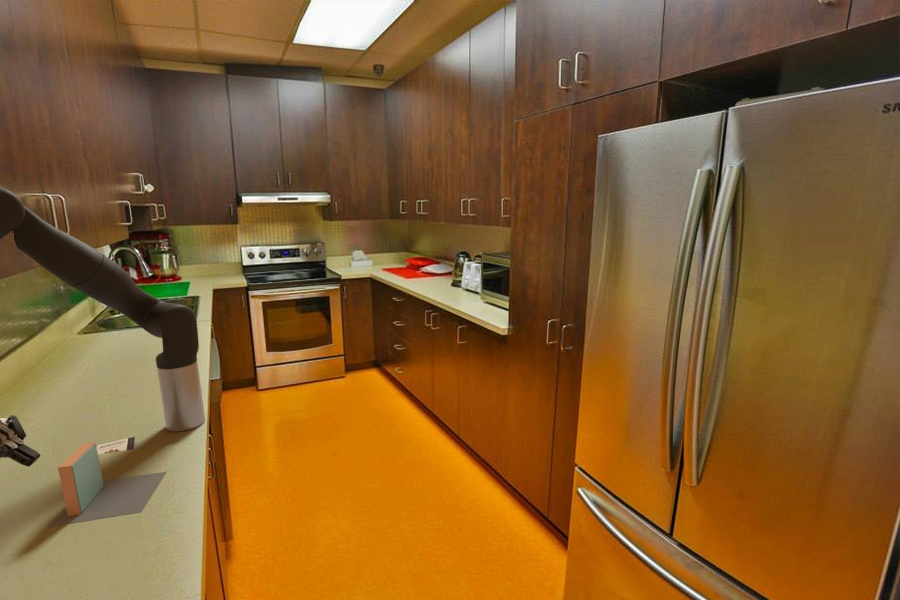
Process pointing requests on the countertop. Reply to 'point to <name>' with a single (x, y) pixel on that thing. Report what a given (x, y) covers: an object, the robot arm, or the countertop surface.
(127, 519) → the countertop surface
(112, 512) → the mat
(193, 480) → the countertop surface
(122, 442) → the chocolate bar
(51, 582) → the countertop surface
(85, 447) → the tile
